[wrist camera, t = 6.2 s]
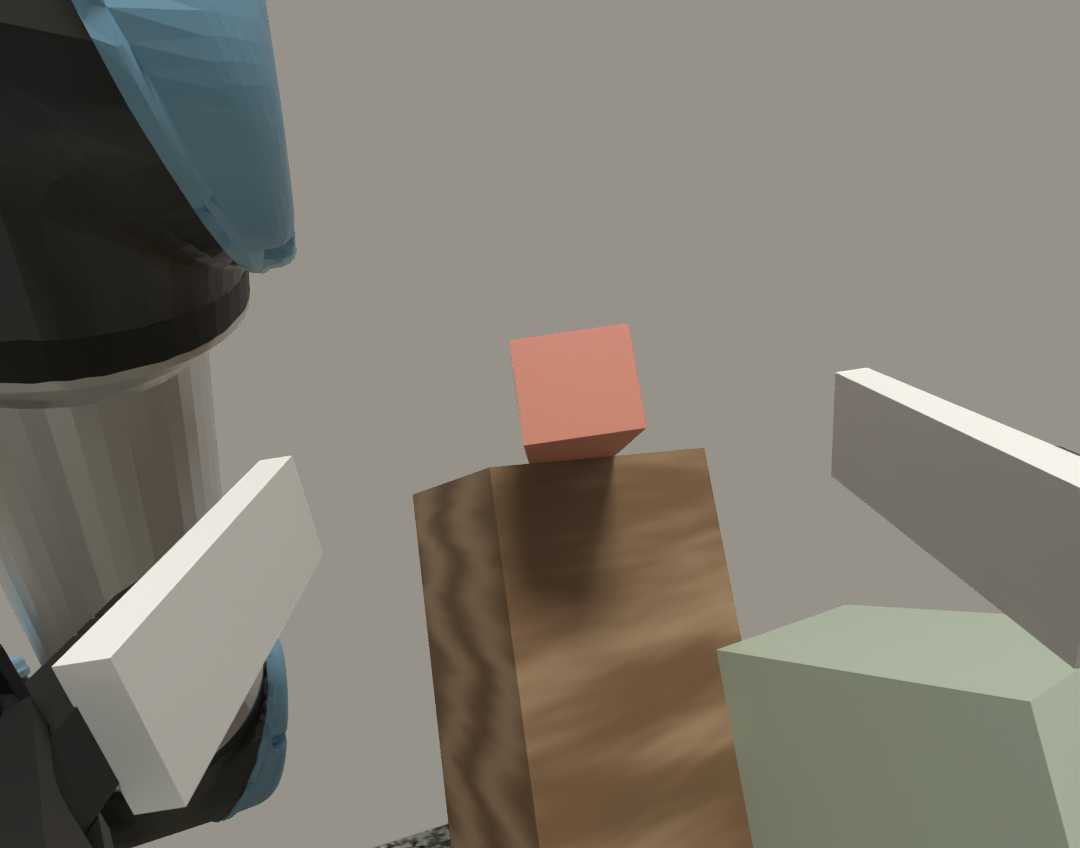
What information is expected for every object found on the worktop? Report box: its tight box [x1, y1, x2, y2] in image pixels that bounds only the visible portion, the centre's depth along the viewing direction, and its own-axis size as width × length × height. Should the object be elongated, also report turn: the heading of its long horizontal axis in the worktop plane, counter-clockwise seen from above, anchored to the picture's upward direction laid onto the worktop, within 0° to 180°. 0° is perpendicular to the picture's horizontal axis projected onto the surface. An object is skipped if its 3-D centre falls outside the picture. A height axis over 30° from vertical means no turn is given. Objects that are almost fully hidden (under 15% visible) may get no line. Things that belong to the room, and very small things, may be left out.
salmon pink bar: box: [509, 323, 646, 464], centre depth 32 cm, size 22×4×4 cm, turn 0°
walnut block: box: [413, 448, 753, 848], centre depth 33 cm, size 12×14×30 cm
